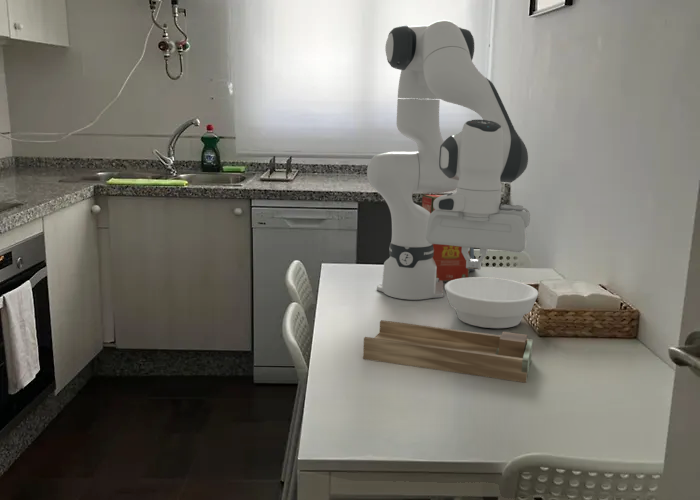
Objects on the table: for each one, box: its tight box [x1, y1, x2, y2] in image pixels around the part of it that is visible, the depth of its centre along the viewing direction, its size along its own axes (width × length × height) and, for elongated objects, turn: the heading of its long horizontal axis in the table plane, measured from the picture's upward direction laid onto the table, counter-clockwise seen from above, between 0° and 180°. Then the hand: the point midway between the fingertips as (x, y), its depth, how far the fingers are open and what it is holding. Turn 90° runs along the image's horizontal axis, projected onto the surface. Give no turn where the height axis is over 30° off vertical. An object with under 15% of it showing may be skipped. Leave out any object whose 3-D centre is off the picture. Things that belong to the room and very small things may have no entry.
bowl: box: [444, 276, 539, 329], centre depth 173 cm, size 22×22×8 cm
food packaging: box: [421, 194, 471, 282], centre depth 210 cm, size 13×9×25 cm
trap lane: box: [362, 319, 534, 383], centre depth 147 cm, size 13×33×4 cm, turn 72°
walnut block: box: [498, 331, 528, 358], centre depth 145 cm, size 5×5×4 cm
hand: (473, 268), depth 145 cm, fingers closed
